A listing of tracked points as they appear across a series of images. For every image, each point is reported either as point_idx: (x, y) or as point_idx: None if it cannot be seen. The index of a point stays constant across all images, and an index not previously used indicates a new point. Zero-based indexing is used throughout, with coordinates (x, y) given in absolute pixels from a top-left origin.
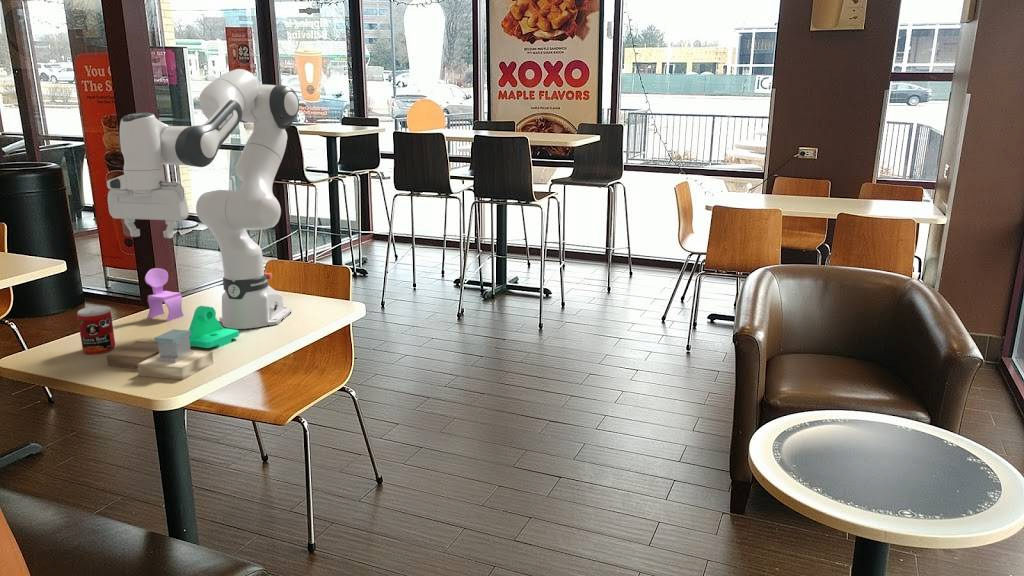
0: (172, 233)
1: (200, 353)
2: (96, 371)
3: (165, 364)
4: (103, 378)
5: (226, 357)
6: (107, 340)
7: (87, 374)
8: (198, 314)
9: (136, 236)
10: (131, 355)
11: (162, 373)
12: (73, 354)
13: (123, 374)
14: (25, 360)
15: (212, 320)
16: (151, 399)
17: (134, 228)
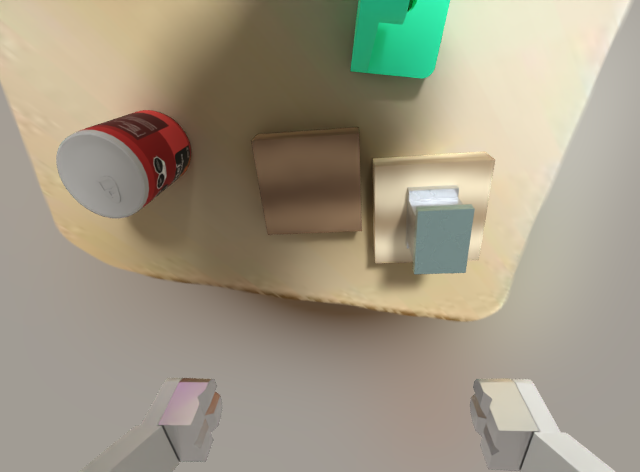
0: (543, 408)
1: (472, 178)
2: (277, 249)
3: None
4: (319, 272)
5: (498, 105)
6: (182, 159)
7: (275, 264)
8: (378, 22)
9: (221, 404)
10: (323, 227)
11: None
12: None
13: (338, 250)
14: (98, 236)
15: None
16: (466, 320)
17: (161, 446)
